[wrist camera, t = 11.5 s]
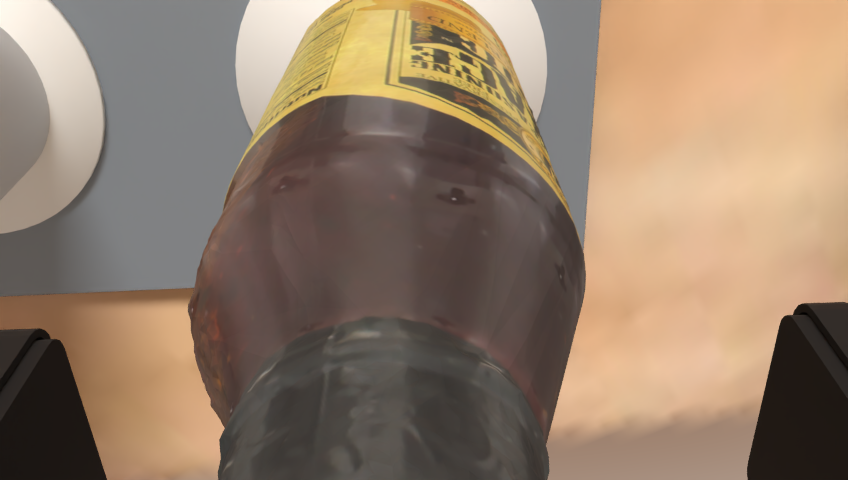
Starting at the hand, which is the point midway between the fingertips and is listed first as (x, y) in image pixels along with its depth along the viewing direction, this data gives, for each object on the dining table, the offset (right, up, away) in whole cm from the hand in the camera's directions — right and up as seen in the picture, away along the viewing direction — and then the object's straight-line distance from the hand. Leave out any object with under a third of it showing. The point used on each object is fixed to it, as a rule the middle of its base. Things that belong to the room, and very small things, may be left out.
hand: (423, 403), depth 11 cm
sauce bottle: (-1, +7, +13) cm, 15 cm away
